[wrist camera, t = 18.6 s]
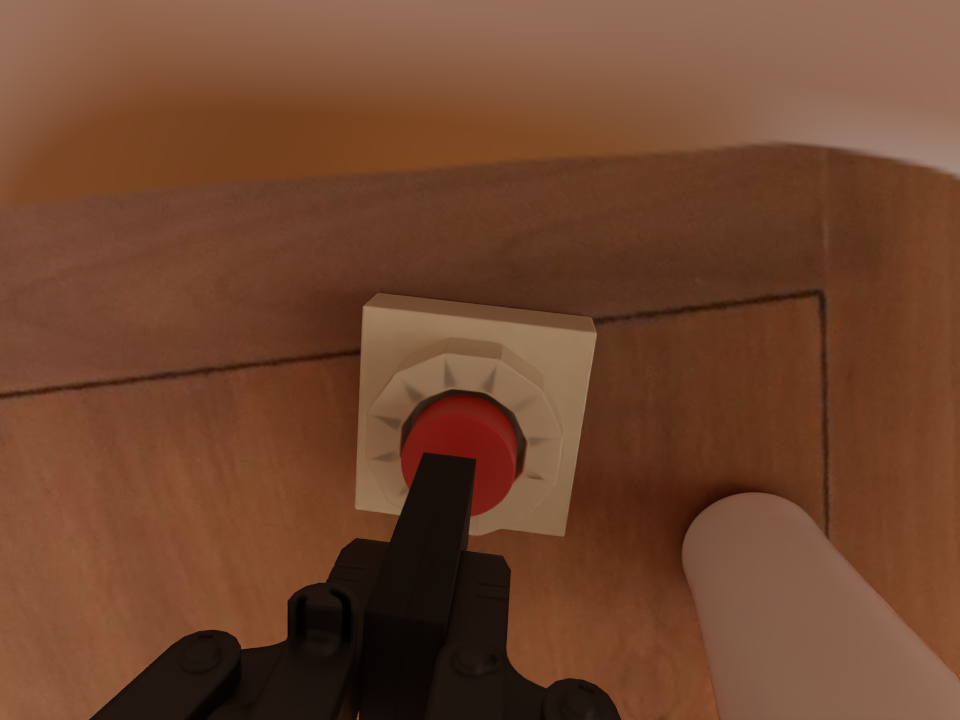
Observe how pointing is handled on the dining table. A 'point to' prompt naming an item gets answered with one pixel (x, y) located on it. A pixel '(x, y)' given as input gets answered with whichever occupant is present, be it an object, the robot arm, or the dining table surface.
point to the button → (466, 444)
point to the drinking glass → (802, 623)
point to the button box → (481, 373)
